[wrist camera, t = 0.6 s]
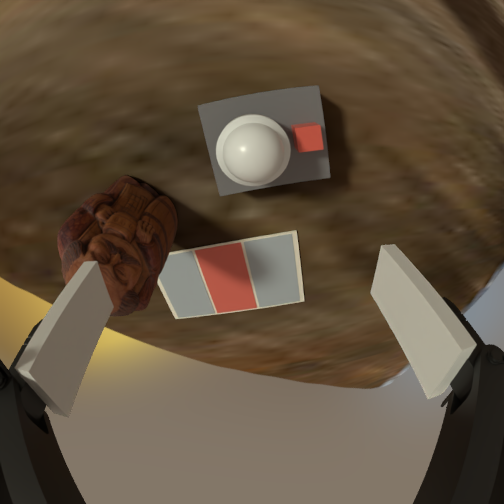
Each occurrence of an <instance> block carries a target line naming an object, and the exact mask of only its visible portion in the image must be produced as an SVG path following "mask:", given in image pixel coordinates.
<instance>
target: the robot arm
mask: <svg viewBox="0 0 504 504" xmlns="http://www.w3.org/2000/svg"><path fill="white" fill-rule="evenodd" d="M371 295H372V297H373V298H374V300H375V302H376V303H377V305H378V307H379V308H380V310H381V312H382V313H383V315H384V317H385V319H386V320H387V322H388V324H389V326H390V327H391V329H392V331H393V333H394V334H395V336H396V338H397V340H398V342H399V344H400V345H401V347H402V349H403V351H404V353H405V355H406V357H407V359H408V360H409V362H410V364H411V366H412V368H413V370H414V372H415V374H416V376H417V378H418V380H419V382H420V384H421V386H422V388H423V390H424V392H425V394H426V396H427V398H428V399H430V398H433V397H435V396H437V395H440V394H443V392H444V391H445V390H446V389H447V387H448V386H449V385H451V387H452V389H453V390H452V391H451V393H450V394H449V395H448V396H447V398H446V399H445V400H444V401H443V403H442V405H441V407H443V406H444V405H445V404H446V403H447V402H448V405H447V407H446V408H447V409H446V413H445V417H444V420H443V424H442V428H441V431H440V435H439V438H438V442H437V444H436V448H435V450H434V453H433V456H432V459H431V462H430V465H429V467H428V470H427V472H426V475H425V478H424V480H423V482H422V485H421V487H420V489H419V491H418V494H417V496H416V498H415V500H414V502H413V504H504V352H503V351H502V350H501V349H500V348H499V347H497V346H495V345H490V344H489V345H485V344H484V343H483V341H482V340H481V338H480V337H479V335H478V334H477V333H476V331H475V330H474V329H473V327H472V326H471V325H470V323H469V322H468V321H466V318H465V317H464V316H463V314H461V312H460V311H459V309H458V308H457V307H456V306H455V304H454V303H452V302H451V301H449V300H448V299H447V298H445V297H443V298H441V296H440V295H439V294H438V293H437V292H436V290H435V289H434V288H433V287H432V286H431V284H430V283H429V282H428V281H427V280H426V279H425V277H424V276H423V275H422V274H421V273H420V272H419V271H418V269H417V268H416V267H415V266H414V265H413V264H412V263H411V262H410V261H409V259H408V258H407V257H406V256H405V255H404V254H403V253H402V252H401V251H400V250H399V249H398V248H397V246H396V245H381V248H380V253H379V258H378V263H377V267H376V272H375V276H374V280H373V285H372V289H371ZM113 307H114V306H113V304H112V301H111V299H110V296H109V293H108V291H107V288H106V285H105V283H104V280H103V277H102V274H101V271H100V268H99V265H98V262H97V261H87V262H84V263H83V264H82V265H81V267H80V268H79V269H78V271H77V272H76V273H75V274H74V276H73V277H72V279H71V280H70V281H69V283H68V284H67V285H66V287H65V288H64V290H63V291H62V292H61V294H60V295H59V297H58V298H57V299H56V301H55V302H54V304H53V305H52V307H51V308H50V310H49V311H48V313H47V314H46V316H45V317H44V319H42V320H41V321H40V322H39V323H38V324H37V325H35V326H34V327H33V329H32V331H31V332H30V334H29V335H28V338H27V339H26V340H25V342H24V345H22V347H21V349H20V351H19V352H18V354H17V356H16V358H15V359H14V361H13V363H12V365H11V367H10V369H9V370H8V369H7V368H6V366H5V365H4V364H3V362H2V361H1V360H0V504H86V503H85V501H84V499H83V497H82V495H81V493H80V492H79V490H78V488H77V486H76V484H75V482H74V480H73V478H72V476H71V473H70V471H69V469H68V467H67V465H66V463H65V460H64V458H63V455H62V453H61V450H60V448H59V445H58V443H57V440H56V437H55V435H54V432H53V429H52V426H51V423H50V420H49V417H48V415H47V413H46V412H45V411H44V410H45V407H46V405H47V406H48V407H49V408H50V409H51V410H52V411H53V412H54V413H56V414H59V415H63V416H66V417H69V414H70V412H71V409H72V406H73V403H74V400H75V397H76V395H77V392H78V389H79V386H80V384H81V381H82V379H83V376H84V374H85V371H86V369H87V366H88V364H89V361H90V359H91V356H92V354H93V351H94V349H95V347H96V345H97V342H98V340H99V338H100V335H101V333H102V331H103V329H104V327H105V324H106V322H107V320H108V318H109V316H110V314H111V312H112V310H113Z"/></svg>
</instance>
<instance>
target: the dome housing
mask: <svg viewBox="0 0 504 504" xmlns="http://www.w3.org/2000/svg"><path fill="white" fill-rule="evenodd" d="M198 110H199V114H200V118H201V122H202V127H203V131H204V135H205V139H206V143H207V147H208V151H209V155H210V159H211V163H212V167H213V171H214V175H215V179H216V183H217V187H218V191H219V194H220V196H224V195H229V194H234V193H239V192H244V191H250V190H255V189H261V188H267V187H272V186H278V185H284V184H291V183H297V182H303V181H310V180H317V179H324V178H330V167H329V157H328V148H327V140H326V131H325V124H324V117H323V110H322V103H321V97H320V90H319V86H306V87H297V88H288V89H280V90H273V91H267V92H260V93H254V94H249V95H243V96H238V97H233V98H228V99H224V100H219V101H215V102H211V103H206V104H203V105H199V106H198ZM245 114H261V115H265V116H267V117H269V118H271V119H273V120H274V121H275V122H277V123H278V125H279V126H280V127H281V128H282V129H283V130H284V131H285V133H286V135H287V137H288V139H289V142H290V149H291V152H290V159H289V162H288V165H287V167H286V169H285V170H284V172H283V173H282V174H281V175H280V176H279V177H278V178H276V179H275V180H273V181H272V182H270V183H267V184H265V185H260V186H246V185H242V184H239V183H237V182H235V181H233V180H231V179H230V178H229V177H228V176H227V175H226V174H225V173H224V172H223V171H222V169H221V168H220V166H219V164H218V161H217V157H216V145H217V141H218V138H219V136H220V134H221V132H222V131H223V129H224V128H225V127H226V125H227V124H228V123H229V122H230V121H232V120H233V119H235V118H237V117H239V116H241V115H245Z"/></svg>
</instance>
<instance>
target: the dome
mask: <svg viewBox="0 0 504 504" xmlns="http://www.w3.org/2000/svg"><path fill="white" fill-rule="evenodd" d="M290 152H291V149H290V142H289V139H288V137H287V135H286V133H285V131H284V130H283V129H282V128H281V127H280V126H279V125H278V123H277V122H275V121H274V120H273V119H271V118H269V117H267V116H265V115H261V114H245V115H241V116H239V117H237V118H235V119H233V120H232V121H230V122H229V123H228V124H227V125H226V127H225V128H224V129H223V131H222V132H221V134H220V136H219V138H218V141H217V145H216V157H217V161H218V164H219V166H220V168H221V169H222V171H223V172H224V173H225V174H226V175H227V176H228V177H229V178H230V179H231V180H233V181H235V182H237V183H239V184H242V185H246V186H260V185H265V184H267V183H270V182H272V181H273V180H275V179H276V178H278V177H279V176H280V175H281V174H282V173H283V172H284V170H285V169H286V167H287V165H288V162H289V159H290Z"/></svg>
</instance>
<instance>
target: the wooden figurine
mask: <svg viewBox="0 0 504 504" xmlns="http://www.w3.org/2000/svg"><path fill="white" fill-rule="evenodd" d="M177 225H178V219H177V213H176V210H175V207H174V205H173V203H172V202H171V200H170V199H169V198H168V197H167V196H165V195H163V196H160V195H158V194H157V192H156V191H155V190H154V189H152V188H151V187H150V186H149V185H148V184H146V183H140V184H139V183H138V182H137V181H136V180H134V179H133V178H132V177H130V176H127V175H125V176H122V177H121V178H119V179H118V180H117V181H116V182H114V183H113V184H112V185H111V186H110V187H109V188H108V189H107V190H106V191H105V192H104V193H97V194H95V195H93V196H91V197H90V198H89V199H87V200H86V201H85V202H84V203H83V205H82V206H81V207H80V208H78V209H77V210H76V211H75V212H74V213H73V214H72V215H71V216H70V217H69V218H68V219H67V220H66V221H65V223H64V224H63V225H62V227H61V228H60V230H59V233H58V250H59V254H60V257H61V260H62V273H63V277H64V280H65V284H66V285H67V284H68V283H69V281H70V280H71V279H72V277H73V276H74V274H75V273H76V272H77V271H78V269H79V268H80V267H81V265H82V264H83V263H84V262H87V261H97V262H98V265H99V268H100V271H101V274H102V277H103V280H104V283H105V285H106V288H107V291H108V293H109V296H110V299H111V301H112V304H113V306H114V307H113V310H112V312H111V314H110V316H125V315H129V314H130V313H132V312H133V311H140V310H144V309H145V308H146V307H147V306H148V303H149V301H150V298H151V295H152V293H153V290H154V289H155V287H156V285H157V282H158V278H159V275H160V273H161V272H162V270H163V268H164V265H165V262H166V261H167V258H168V255H169V253H170V250H171V247H172V244H173V241H174V239H175V235H176V231H177Z"/></svg>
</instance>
